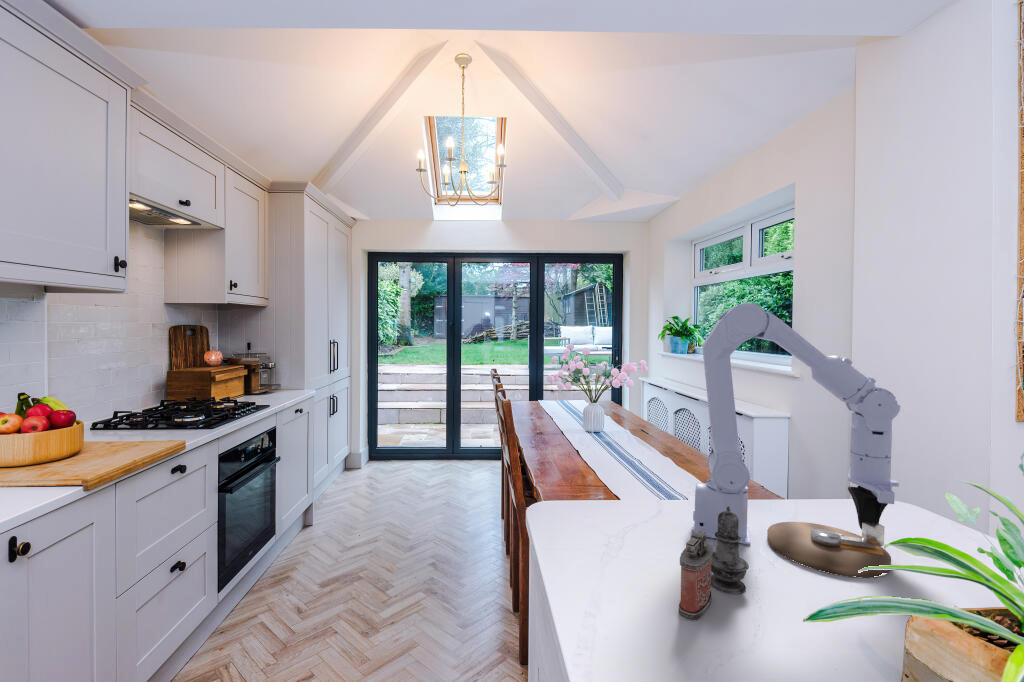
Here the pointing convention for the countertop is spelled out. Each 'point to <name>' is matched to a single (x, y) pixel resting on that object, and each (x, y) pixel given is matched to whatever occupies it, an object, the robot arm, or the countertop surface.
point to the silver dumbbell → (870, 537)
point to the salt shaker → (728, 556)
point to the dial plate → (825, 550)
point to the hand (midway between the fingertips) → (868, 530)
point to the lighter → (695, 577)
